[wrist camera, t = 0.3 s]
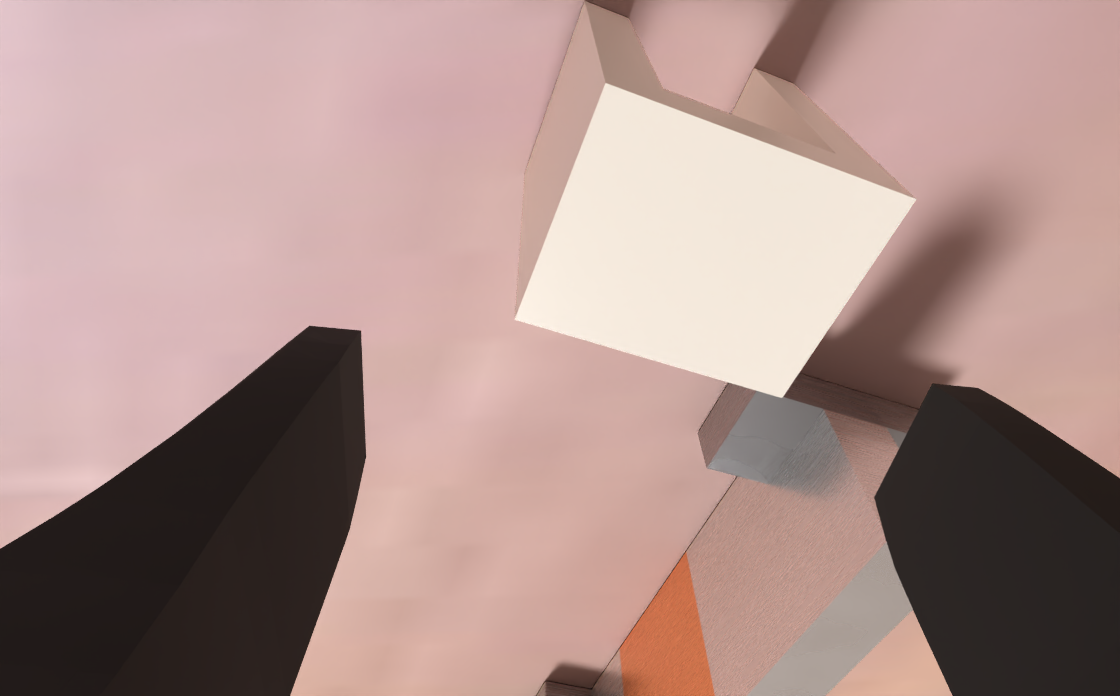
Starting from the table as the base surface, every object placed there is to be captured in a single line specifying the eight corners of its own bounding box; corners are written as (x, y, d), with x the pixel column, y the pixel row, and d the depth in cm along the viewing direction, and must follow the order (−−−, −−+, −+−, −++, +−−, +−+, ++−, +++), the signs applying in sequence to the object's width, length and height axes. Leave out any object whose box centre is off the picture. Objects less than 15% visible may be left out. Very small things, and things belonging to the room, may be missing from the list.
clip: (793, 83, 16) (916, 199, 11) (713, 237, 18) (782, 397, 13) (584, 0, 15) (605, 82, 10) (524, 174, 17) (514, 319, 12)
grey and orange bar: (923, 411, 22) (1035, 577, 17) (650, 741, 32) (670, 903, 27) (744, 356, 20) (808, 519, 15) (522, 718, 31) (517, 884, 26)
